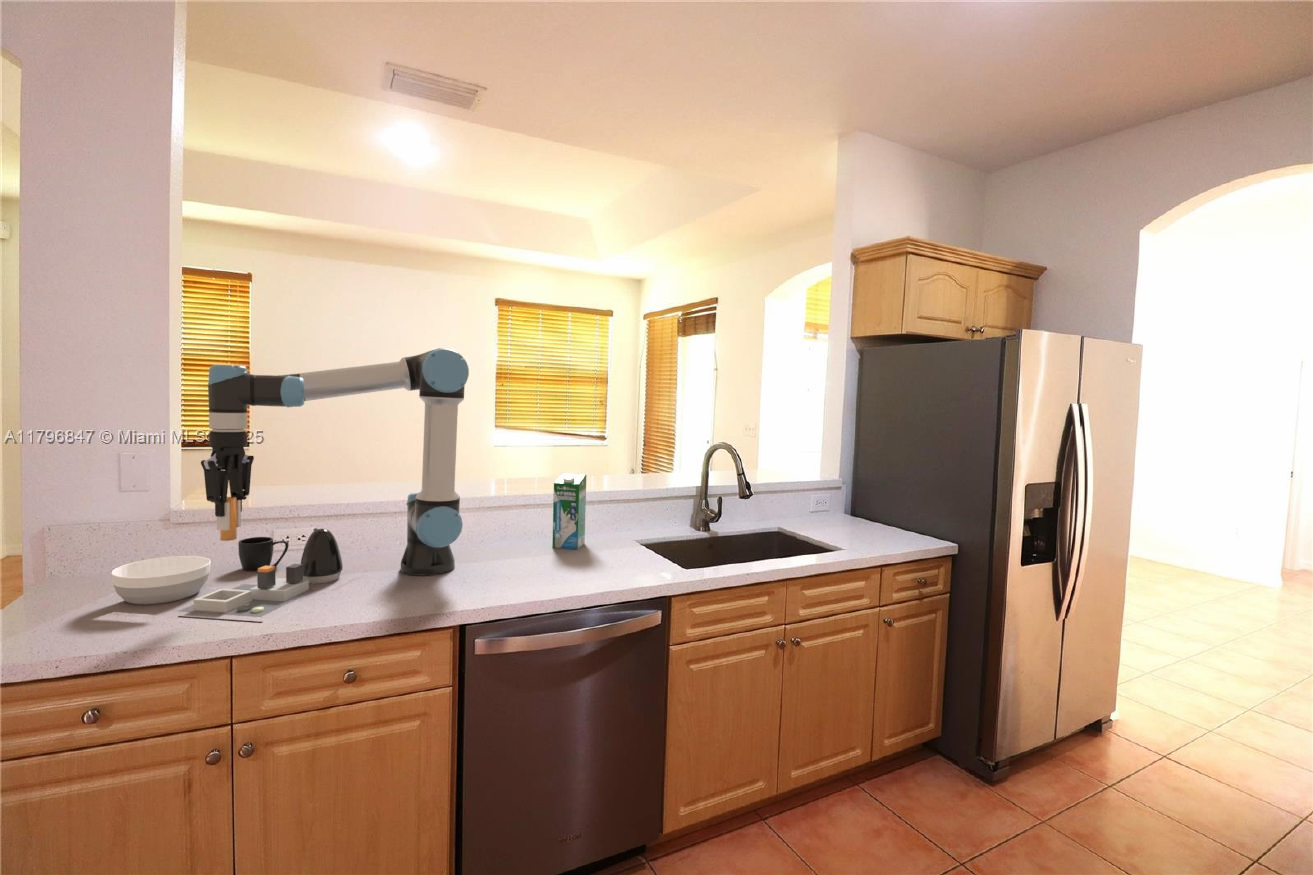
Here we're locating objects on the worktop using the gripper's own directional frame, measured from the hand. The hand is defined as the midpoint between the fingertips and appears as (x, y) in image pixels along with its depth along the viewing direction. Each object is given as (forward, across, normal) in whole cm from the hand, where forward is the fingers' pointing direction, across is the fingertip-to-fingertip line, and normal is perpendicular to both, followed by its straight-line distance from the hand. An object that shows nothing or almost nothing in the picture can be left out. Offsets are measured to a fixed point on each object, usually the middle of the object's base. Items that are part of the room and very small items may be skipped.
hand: (228, 527), depth 148 cm
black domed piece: (+19, -19, +10) cm, 29 cm away
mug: (+19, -25, -11) cm, 33 cm away
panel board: (+19, -1, +5) cm, 20 cm away
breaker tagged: (+15, -3, +8) cm, 17 cm away
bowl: (+19, 0, -17) cm, 26 cm away
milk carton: (+18, -76, +64) cm, 101 cm away
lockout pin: (+3, 0, 0) cm, 3 cm away
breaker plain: (+15, -8, +11) cm, 20 cm away
